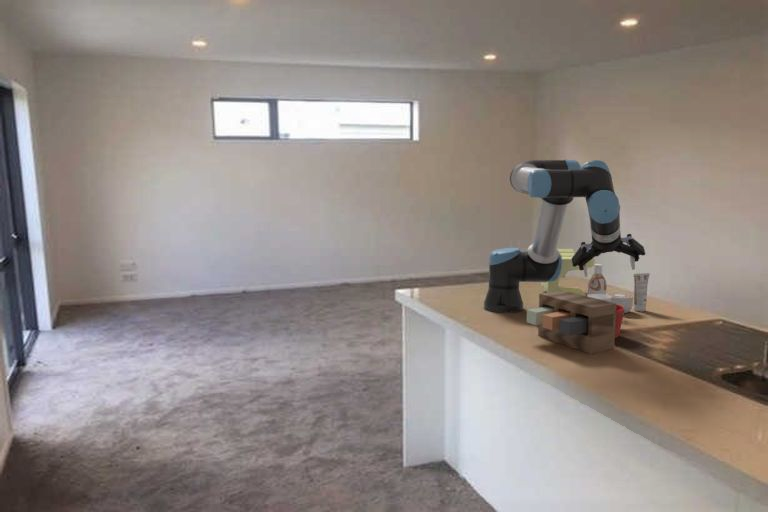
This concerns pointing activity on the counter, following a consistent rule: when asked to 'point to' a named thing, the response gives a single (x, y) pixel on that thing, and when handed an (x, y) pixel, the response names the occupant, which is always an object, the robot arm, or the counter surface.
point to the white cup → (600, 297)
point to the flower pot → (618, 319)
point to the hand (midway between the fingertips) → (608, 269)
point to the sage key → (538, 314)
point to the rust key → (554, 319)
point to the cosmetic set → (626, 300)
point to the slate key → (574, 325)
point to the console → (578, 305)
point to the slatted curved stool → (566, 267)
